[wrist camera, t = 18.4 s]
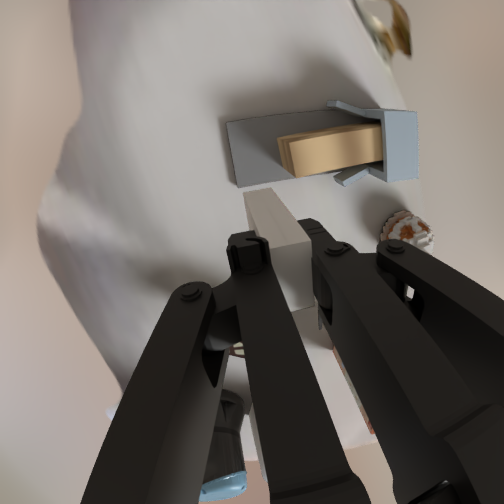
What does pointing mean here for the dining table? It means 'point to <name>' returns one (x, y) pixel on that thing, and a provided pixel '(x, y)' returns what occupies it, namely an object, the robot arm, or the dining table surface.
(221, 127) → the dining table surface
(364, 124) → the oak slat
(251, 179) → the board
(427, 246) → the decorative ornament
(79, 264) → the dining table surface
